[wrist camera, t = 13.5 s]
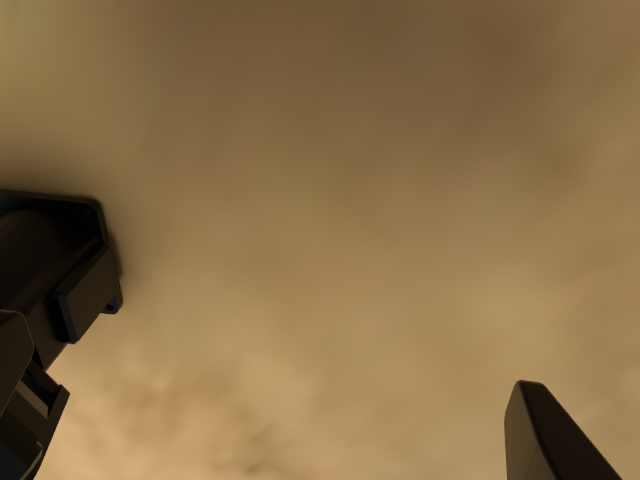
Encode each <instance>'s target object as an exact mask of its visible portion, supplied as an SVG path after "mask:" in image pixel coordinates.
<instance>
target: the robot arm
mask: <svg viewBox="0 0 640 480" xmlns="http://www.w3.org/2000/svg"><path fill="white" fill-rule="evenodd" d="M86 208H88V209H89V210H91V212H92V213H90V212H89V211H87V209H86ZM119 288H120V284H119V279H118V275H117V270H116V266H115V261H114V256H113V252H112V248H111V246H110V244H109V241H108V236H107V232H106V227H105V222H104V218H103V213H102V209H101V207H100V205H99V204H98V203H97V202H96V201H94V200H91V199H85V198H76V197H66V196H57V195H48V194H38V193H29V192H20V191H10V190H1V189H0V480H33V479H34V477H35V476H36V474H37V472H38V470H39V468H40V466H41V463H42V461H43V459H44V456H45V454H46V451H47V449H48V446H49V444H50V442H51V439H52V437H53V434H54V432H55V430H56V427H57V425H58V422H59V420H60V417H61V415H62V413H63V410H64V408H65V405H66V403H67V400H68V398H69V396H70V393H69V392H68V391H67V390H66V389H65V388H64V387H63V386H62V385H58V384H57V383H56V382H55V381H54V380H53V379H52V378H51V377H50V376H49V375H48V374H47V373H46V371H47V369H48V368H49V367H50V365H51V364H52V363H53V362H54V360H55V359H56V358H57V357H58V355H59V354H60V353H61V352H62V350H63V349H64V348H65V347H66V345H67V344H75V343H77V342H78V341H79V340H80V339H81V338H82V336H83V335H84V334H85V332H86V331H87V330H88V328H89V327H90V326H91V325H92V323H93V322H94V321H95V319H96V318H97V317H98V315H99V314H100V313H105V314H116V313H117V312H118V311H119V310H120V308H121V307H122V300H121V296H120V291H119ZM111 304H112V305H111ZM504 430H505V448H506V466H507V480H622V478H621V477H620V476H619V475H618V473H617V472H616V471H615V470H614V469H613V467H612V466H611V465H610V464H609V463H608V461H607V460H606V459H605V458H604V457H603V455H602V454H601V453H600V452H599V450H598V449H597V448H596V447H595V446H594V444H593V443H592V442H591V441H590V440H589V438H588V437H587V436H586V435H585V433H584V432H583V431H582V430H581V429H580V427H579V426H578V425H577V424H576V423H575V421H574V420H573V419H572V418H571V417H570V415H569V414H568V413H567V412H566V410H565V409H564V408H563V407H562V406H561V404H560V403H559V402H558V401H557V400H556V398H555V397H554V396H553V395H552V394H551V392H550V391H549V390H548V389H547V387H546V386H545V385H543V384H542V383H539V382H532V381H525V380H519V381H517V382H516V383H515V385H514V388H513V391H512V394H511V397H510V400H509V403H508V406H507V409H506V412H505V419H504Z"/></svg>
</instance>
